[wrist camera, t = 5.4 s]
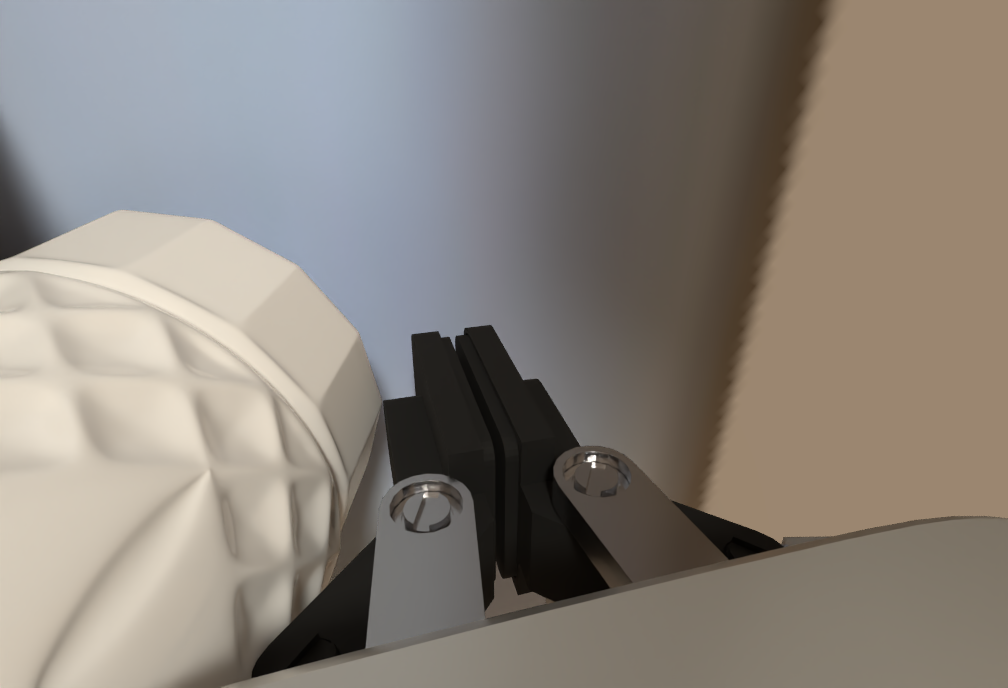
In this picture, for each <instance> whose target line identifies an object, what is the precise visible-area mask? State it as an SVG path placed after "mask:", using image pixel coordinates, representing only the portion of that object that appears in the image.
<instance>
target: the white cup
mask: <svg viewBox="0 0 1008 688" xmlns="http://www.w3.org/2000/svg"><path fill="white" fill-rule="evenodd" d="M381 405H382V399H381V395H380V392H379V390H378V387H377V384H376V381H375V378H374V375H373V372H372V369H371V366H370V363H369V360H368V357H367V354H366V351H365V348H364V345H363V342H362V340H361V337H360V334H359V332H358V331H357V329H356V328H355V327H354V326H353V325H352V324H351V323H350V322H349V321H348V319H347V318H346V317H345V316H344V315H343V314H342V313H341V312H340V311H339V310H338V308H337V307H336V306H335V305H334V304H333V303H332V302H331V301H330V300H329V298H328V297H327V296H326V295H325V294H324V293H323V292H322V291H321V290H320V289H319V287H318V286H317V285H316V284H315V283H314V282H313V281H312V280H311V279H310V278H309V276H308V275H307V274H306V273H305V272H304V271H303V270H302V269H301V268H300V267H299V266H298V265H296V264H295V263H293V262H291V261H289V260H287V259H285V258H284V257H282V256H280V255H278V254H276V253H274V252H272V251H270V250H269V249H267V248H265V247H263V246H261V245H259V244H257V243H255V242H253V241H252V240H250V239H248V238H246V237H244V236H242V235H240V234H238V233H236V232H235V231H233V230H231V229H229V228H227V227H225V226H223V225H221V224H219V223H218V222H216V221H213V220H210V219H203V218H194V217H185V216H176V215H167V214H157V213H148V212H139V211H130V210H118V211H115V212H112V213H110V214H107V215H105V216H103V217H100V218H98V219H96V220H94V221H91V222H89V223H87V224H85V225H82V226H80V227H78V228H76V229H74V230H71V231H69V232H67V233H65V234H62V235H60V236H58V237H56V238H53V239H51V240H49V241H47V242H44V243H42V244H40V245H38V246H35V247H33V248H31V249H29V250H26V251H24V252H22V253H20V254H17V255H15V256H12V257H10V258H7V259H4V260H0V688H220V687H223V686H226V685H229V684H233V683H236V682H240V681H244V680H248V679H251V677H252V670H253V668H254V666H255V663H256V661H257V659H258V658H259V657H260V655H261V654H262V653H263V652H264V650H265V649H266V648H267V647H268V645H269V644H270V643H271V642H272V641H273V640H274V639H275V638H276V637H277V636H278V635H279V634H280V633H281V632H282V631H283V630H284V629H285V628H286V627H287V626H288V625H289V624H290V623H291V622H292V621H293V620H294V619H295V618H296V617H297V616H298V615H299V614H300V613H301V612H302V611H303V610H304V609H305V608H306V607H307V606H308V605H309V604H310V603H311V602H312V601H313V600H314V599H315V598H316V597H317V596H318V595H319V594H320V593H321V592H322V591H323V590H324V589H325V588H326V587H327V586H328V585H329V582H330V579H331V577H332V574H333V571H334V568H335V565H336V562H337V559H338V556H339V553H340V547H341V530H342V528H343V525H344V523H345V520H346V518H347V515H348V512H349V510H350V507H351V505H352V502H353V500H354V497H355V495H356V492H357V490H358V487H359V485H360V482H361V480H362V477H363V474H364V472H365V469H366V467H367V464H368V461H369V458H370V454H371V450H372V445H373V441H374V436H375V432H376V428H377V423H378V419H379V414H380V410H381Z"/></svg>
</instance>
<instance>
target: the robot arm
mask: <svg viewBox="0 0 1008 688" xmlns="http://www.w3.org/2000/svg"><path fill="white" fill-rule="evenodd" d="M411 340H412V354H413V366H414V379H415V391H416V396H412V397H405V398H398V399H391V400H384V401H383V406H384V415H385V424H386V433H387V441H388V449H389V457H390V464H391V471H392V478H393V484H394V486H393V487H392V488H390V489H389V490H388V492H387V493H386V494H385V496H384V497H383V498H382V501H381V504H380V507H379V514H378V524H377V535H376V537H375V538H374V539H373V540H372V541H371V542H370V543H369V544H368V545H367V546H366V547H365V548H364V549H363V550H362V551H361V552H360V553H359V554H358V555H357V556H356V557H355V559H354V560H353V561H352V562H351V563H350V564H349V565H348V566H347V567H346V568H345V569H344V570H343V571H342V572H341V573H340V574H339V575H338V576H337V577H336V578H335V579H334V580H333V581H332V582H331V583H330V584H329V585H328V586H327V587H326V588H325V589H324V590H323V591H322V592H321V593H320V594H319V595H318V596H317V597H316V598H315V599H314V600H313V601H312V602H311V603H310V604H309V605H308V606H307V607H306V608H305V609H304V610H303V611H302V612H301V613H300V614H299V615H298V616H297V617H296V618H295V619H294V620H293V621H292V622H291V623H290V624H289V625H288V626H287V627H286V628H285V629H284V630H283V631H282V632H281V633H280V634H279V635H278V636H277V637H276V638H275V639H274V640H273V641H272V642H271V643H270V644H269V645H268V647H267V648H266V649H265V650H264V652H263V653H262V654H261V655H260V657H259V658H258V659H257V661H256V663H255V666H254V668H253V670H252V677H251V679H248V680H244V681H240V682H236V683H233V684H229V685H226V686H223V687H220V688H1008V518H1000V517H988V516H951V517H941V518H932V519H923V520H922V519H921V520H914V521H908V522H904V523H898V524H892V525H887V526H881V527H875V528H870V529H865V530H860V531H856V532H852V533H847V534H842V535H838V536H831V537H784V538H783V541H782V544H780V543H778V542H777V541H775V540H774V539H773V538H771V537H768V536H766V535H764V534H762V533H760V532H758V531H755V530H752V529H749V528H747V527H744V526H741V525H738V524H736V523H733V522H730V521H727V520H724V519H722V518H719V517H716V516H713V515H710V514H708V513H705V512H702V511H699V510H697V509H694V508H691V507H688V506H685V505H683V504H680V503H677V502H674V501H671V500H670V499H669V498H668V497H667V496H666V495H665V494H664V493H663V492H662V491H661V490H660V489H659V488H658V487H657V486H656V485H655V484H654V483H653V482H652V480H651V479H650V478H649V477H648V476H647V475H646V474H645V473H644V472H643V471H642V470H641V469H640V468H639V467H638V466H637V465H636V464H635V463H634V462H633V461H632V460H630V459H629V458H628V457H627V456H625V455H624V454H622V453H620V452H618V451H615V450H613V449H610V448H606V447H601V446H580V445H579V443H578V442H577V440H576V438H575V437H574V435H573V433H572V432H571V430H570V429H569V427H568V425H567V424H566V422H565V421H564V419H563V417H562V416H561V414H560V412H559V411H558V409H557V408H556V406H555V404H554V403H553V401H552V399H551V398H550V396H549V395H548V393H547V391H546V390H545V388H544V387H543V385H542V383H541V382H540V381H539V380H538V379H530V380H523V379H522V378H521V376H520V374H519V372H518V371H517V369H516V367H515V365H514V364H513V362H512V360H511V358H510V357H509V355H508V353H507V351H506V350H505V348H504V346H503V344H502V343H501V341H500V339H499V337H498V336H497V334H496V332H495V330H494V329H493V327H492V326H491V325H487V326H479V327H470V328H465V330H464V335H460V336H456V338H455V348H456V352H455V349H454V347H453V344H452V342H451V339H450V337H443V338H441V337H440V334H439V332H438V331H436V332H428V333H419V334H412V336H411ZM496 562H497V565H498V568H499V571H500V574H501V577H502V578H503V579H505V578H509V577H512V579H513V582H514V585H515V588H516V591H517V594H518V595H521V594H525V593H529V592H535V593H537V594H539V595H541V596H543V597H545V598H546V604H545V605H540V606H536V607H532V608H528V609H524V610H520V611H516V612H512V613H508V614H504V615H499V616H495V617H491V618H487V619H485V611H486V609H487V608H488V606H489V605H490V603H491V602H492V600H493V599H494V581H495V578H496Z"/></svg>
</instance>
